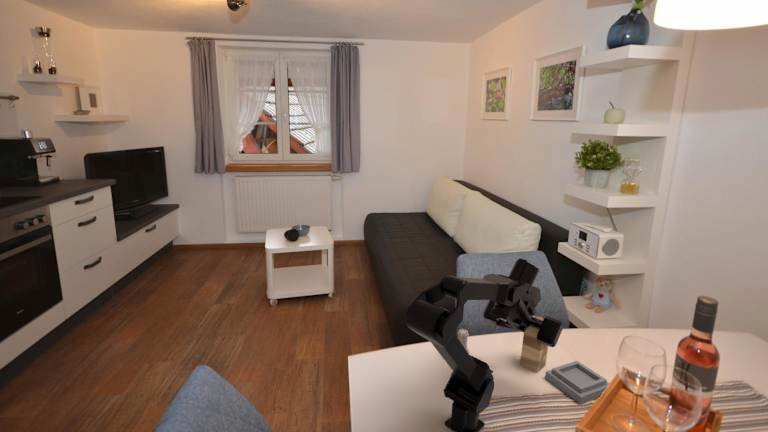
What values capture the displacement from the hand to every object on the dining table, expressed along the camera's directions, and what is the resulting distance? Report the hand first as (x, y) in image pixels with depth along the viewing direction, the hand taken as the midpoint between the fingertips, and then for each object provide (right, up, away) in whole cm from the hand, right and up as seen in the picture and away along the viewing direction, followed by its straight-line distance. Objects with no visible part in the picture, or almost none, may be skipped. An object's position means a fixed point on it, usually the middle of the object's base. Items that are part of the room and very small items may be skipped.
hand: (529, 333), depth 110 cm
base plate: (+12, -13, -2) cm, 17 cm away
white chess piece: (-16, -9, +9) cm, 21 cm away
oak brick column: (+3, -10, +6) cm, 12 cm away
